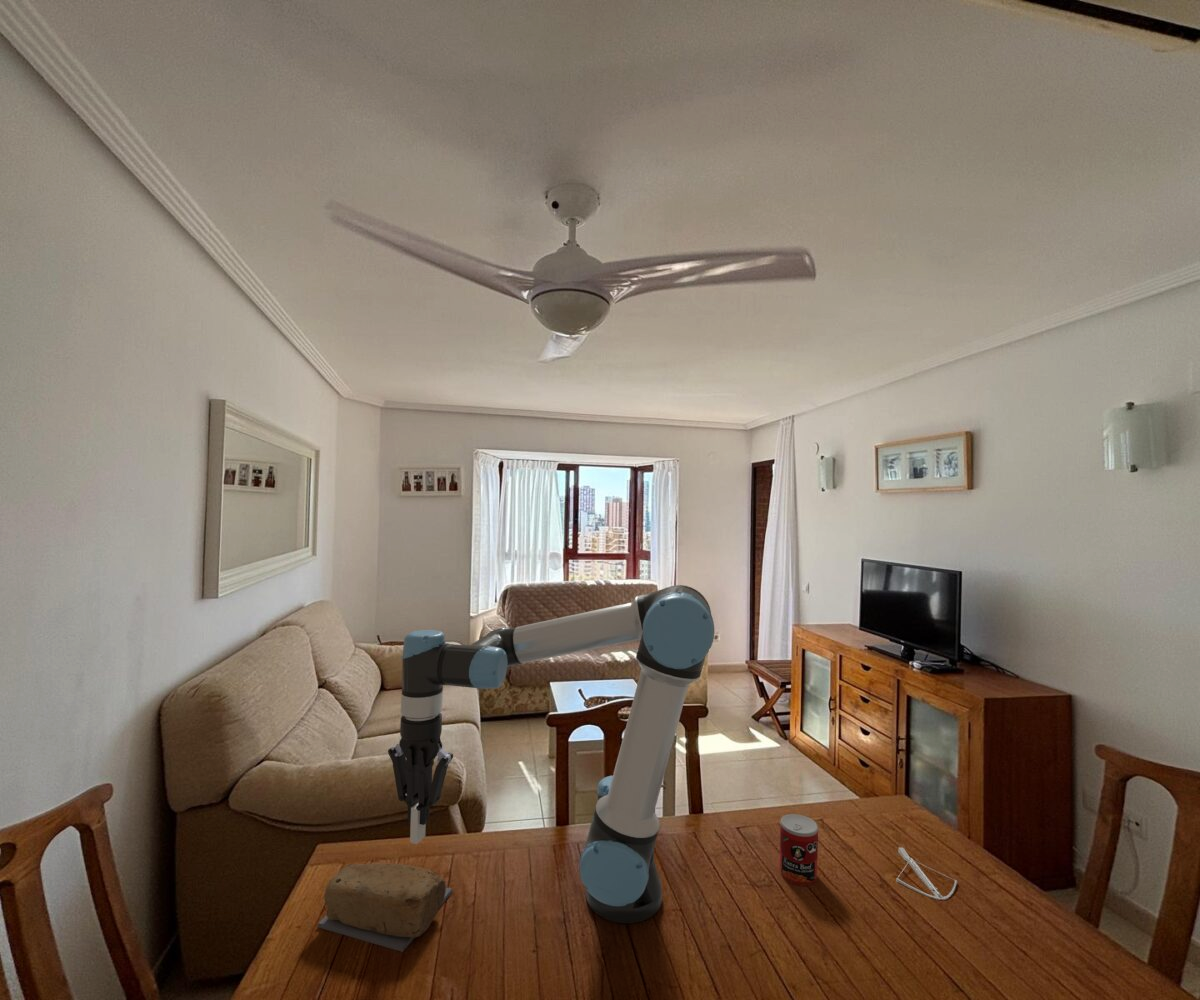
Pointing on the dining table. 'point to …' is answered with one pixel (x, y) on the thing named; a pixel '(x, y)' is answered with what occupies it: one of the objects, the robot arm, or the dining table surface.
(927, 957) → the dining table surface
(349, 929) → the mat
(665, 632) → the robot arm
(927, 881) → the crossbow
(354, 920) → the block
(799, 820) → the canned food
